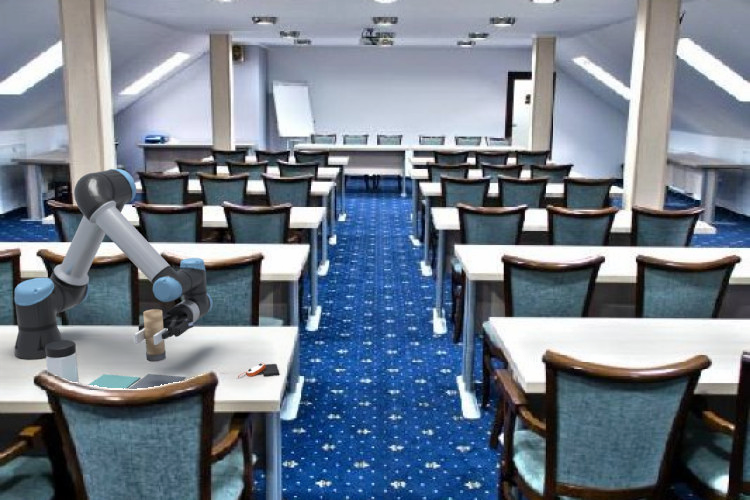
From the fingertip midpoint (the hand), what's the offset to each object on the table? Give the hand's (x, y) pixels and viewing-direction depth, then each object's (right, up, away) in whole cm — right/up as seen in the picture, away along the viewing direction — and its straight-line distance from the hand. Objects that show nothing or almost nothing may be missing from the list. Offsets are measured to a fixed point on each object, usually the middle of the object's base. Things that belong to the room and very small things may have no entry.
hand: (145, 339), depth 214 cm
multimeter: (+27, -13, +15) cm, 33 cm away
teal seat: (-12, -14, +8) cm, 20 cm away
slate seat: (+1, -14, +8) cm, 16 cm away
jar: (-27, -14, +9) cm, 31 cm away
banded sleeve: (+1, -6, +7) cm, 9 cm away
